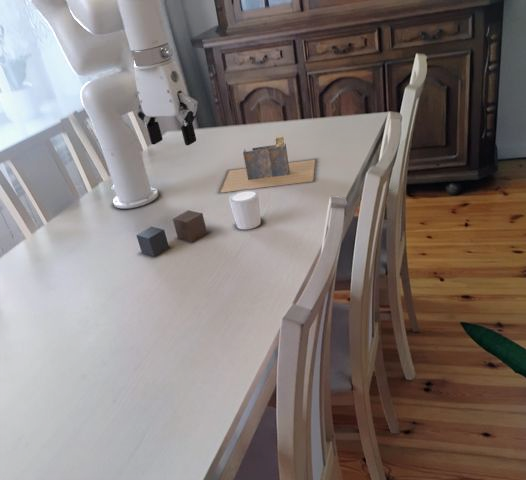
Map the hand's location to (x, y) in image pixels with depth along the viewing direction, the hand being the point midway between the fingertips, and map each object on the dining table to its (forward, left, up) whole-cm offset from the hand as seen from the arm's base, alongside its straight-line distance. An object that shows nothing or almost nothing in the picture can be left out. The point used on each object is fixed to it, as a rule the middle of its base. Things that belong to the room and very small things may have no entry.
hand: (173, 142), depth 124 cm
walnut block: (+2, -3, -20) cm, 21 cm away
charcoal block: (-1, -12, -20) cm, 24 cm away
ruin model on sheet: (-5, +33, -21) cm, 39 cm away
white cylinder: (+11, +7, -21) cm, 24 cm away
